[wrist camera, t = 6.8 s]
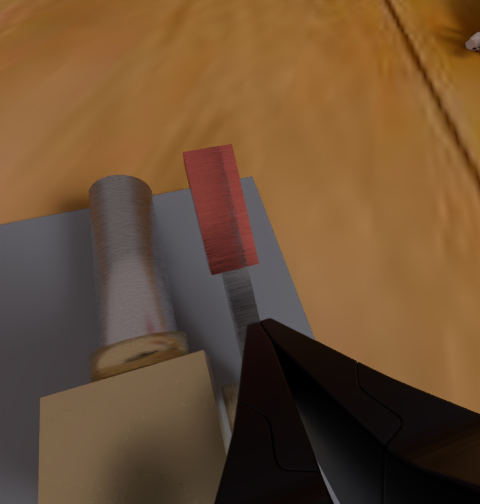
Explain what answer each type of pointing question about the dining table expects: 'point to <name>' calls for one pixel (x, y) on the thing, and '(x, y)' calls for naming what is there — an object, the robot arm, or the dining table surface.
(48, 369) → the mounting board
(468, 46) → the rocket engine
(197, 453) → the valve
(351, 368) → the robot arm
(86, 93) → the dining table surface
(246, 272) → the lever
